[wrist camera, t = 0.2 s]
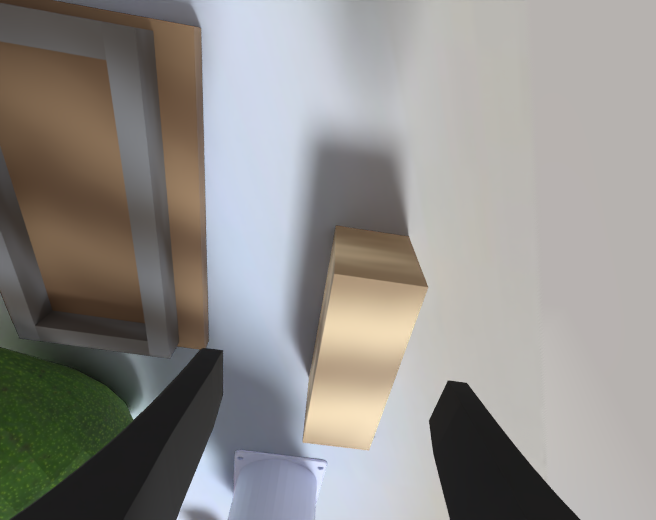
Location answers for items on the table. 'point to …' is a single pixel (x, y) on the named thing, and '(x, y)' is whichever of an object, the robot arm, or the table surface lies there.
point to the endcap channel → (102, 179)
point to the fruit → (49, 426)
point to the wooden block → (361, 335)
